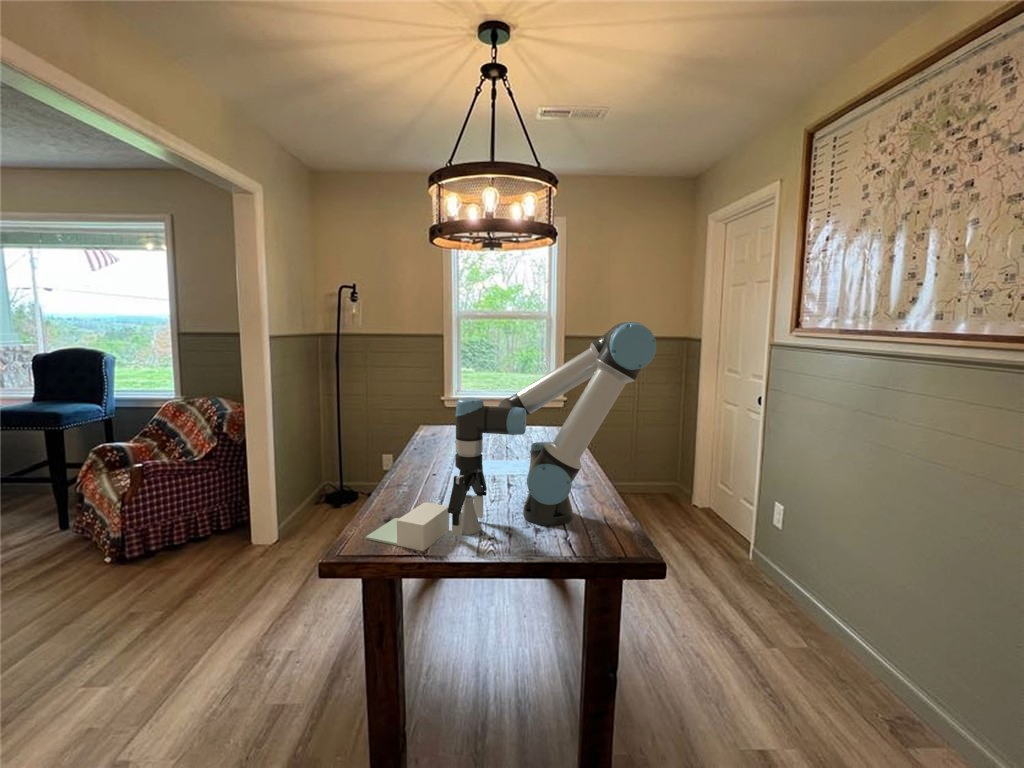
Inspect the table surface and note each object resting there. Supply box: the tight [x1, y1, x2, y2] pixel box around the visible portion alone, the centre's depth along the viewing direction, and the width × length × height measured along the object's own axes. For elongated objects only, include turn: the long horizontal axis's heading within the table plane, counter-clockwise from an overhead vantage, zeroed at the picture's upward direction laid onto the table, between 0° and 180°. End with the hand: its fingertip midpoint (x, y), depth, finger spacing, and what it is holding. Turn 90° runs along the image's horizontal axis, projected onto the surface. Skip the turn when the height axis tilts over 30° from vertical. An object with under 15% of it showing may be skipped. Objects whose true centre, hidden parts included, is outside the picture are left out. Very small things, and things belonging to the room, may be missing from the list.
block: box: [396, 501, 450, 552], centre depth 132 cm, size 8×14×7 cm, turn 159°
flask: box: [461, 494, 482, 536], centre depth 137 cm, size 7×7×10 cm
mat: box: [365, 517, 400, 546], centre depth 135 cm, size 10×14×1 cm
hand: (468, 525), depth 137 cm, fingers open, 13 cm apart
